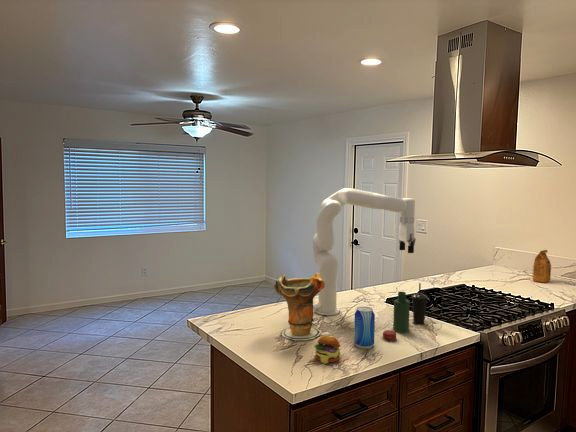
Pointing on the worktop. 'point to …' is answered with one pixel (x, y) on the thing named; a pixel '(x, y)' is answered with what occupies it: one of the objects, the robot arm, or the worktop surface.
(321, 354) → the cheeseburger
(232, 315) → the worktop surface
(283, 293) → the decorative vase
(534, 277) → the coffee package
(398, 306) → the bottle
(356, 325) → the beer can
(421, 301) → the drinking cup
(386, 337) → the cap
